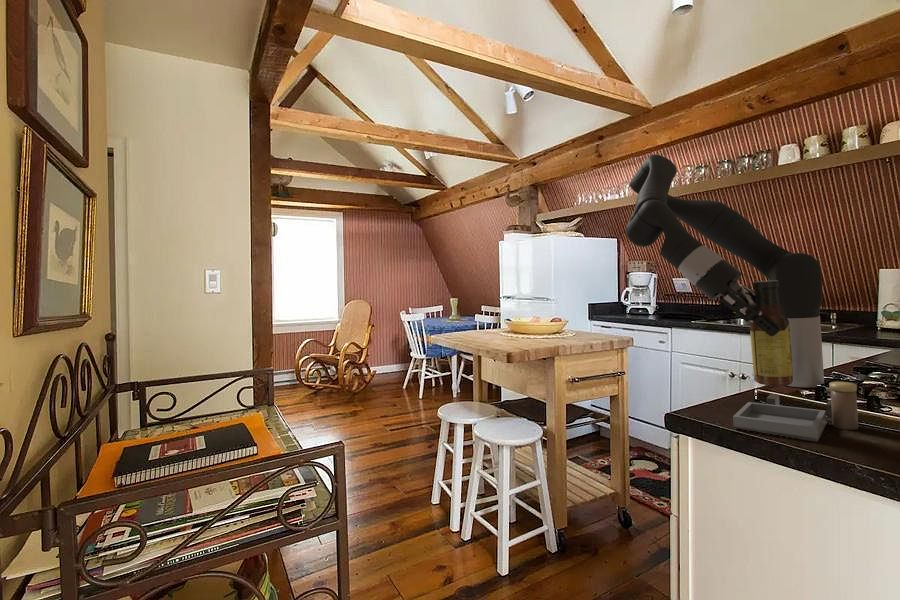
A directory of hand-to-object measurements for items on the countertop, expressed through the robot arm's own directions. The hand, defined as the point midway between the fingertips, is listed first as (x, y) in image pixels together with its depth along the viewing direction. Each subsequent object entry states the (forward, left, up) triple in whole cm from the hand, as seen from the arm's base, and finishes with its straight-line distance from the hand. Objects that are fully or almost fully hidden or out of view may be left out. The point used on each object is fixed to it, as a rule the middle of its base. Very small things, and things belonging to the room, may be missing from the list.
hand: (780, 330), depth 84 cm
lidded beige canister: (-5, +8, -19) cm, 21 cm away
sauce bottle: (0, -2, -10) cm, 11 cm away
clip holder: (-10, +1, -19) cm, 21 cm away
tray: (0, -1, -19) cm, 19 cm away
